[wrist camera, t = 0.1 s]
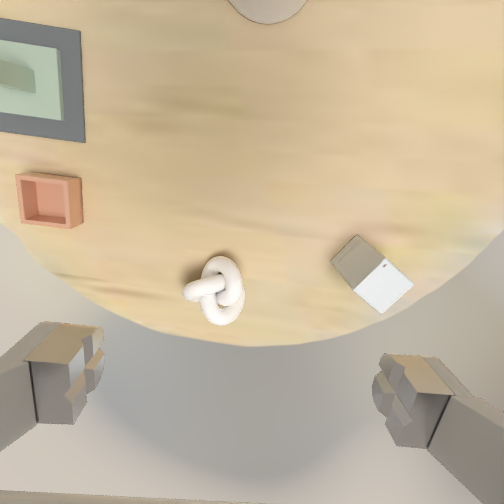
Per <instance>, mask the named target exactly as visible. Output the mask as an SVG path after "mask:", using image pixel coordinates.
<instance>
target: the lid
mask: <svg viewBox="0 0 504 504" xmlns="http://www.w3.org/2000/svg"><path fill="white" fill-rule="evenodd" d="M0 112H4V113H11V114H18V115H25V116H32V117H40V118H47V119H54V120H61V121H65V120H64V105H63V89H62V74H61V59H60V50H58V49H56V48H49V47H43V46H37V45H30V44H24V43H18V42H11V41H5V40H0Z"/></svg>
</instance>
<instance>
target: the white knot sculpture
mask: <svg viewBox="0 0 504 504" xmlns="http://www.w3.org/2000/svg"><path fill="white" fill-rule="evenodd" d="M219 272H221V273H222V274H219V275H218V273H219ZM224 289H226V290H224ZM182 295H183V297H184V298H185V299H186V300H187V301H192V302H200V305H201V309H202V311H203V313H204V315H205V317H206V318H207V320H209V321H210V322H211V323H213V324H216V325H221V326H223V325H227V324H229V323H231V322H232V321H234V320H235V319H236V318H237V317H238V316H239V314H240V313H241V311H242V309H243V306H244V302H245V289H244V286H243V282H242V277H241V274H240V271H239V269H238V267H237V265H236V264H235V263H234V262H233V261H232V260H231V259H229V258H227V257H225V256H217V257H213V258H212V259H210V260H209V261H208V262H207V264H206V265H205V267H204V269H203V272H202V275H201V279H199V280H196V281H193V282H190V283H188V284H187V285H186V286H185V287H184V288H183V291H182ZM217 304H219V305H222V306H226V307H225V308H223V309H220V308H219V307H218V305H217Z"/></svg>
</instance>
